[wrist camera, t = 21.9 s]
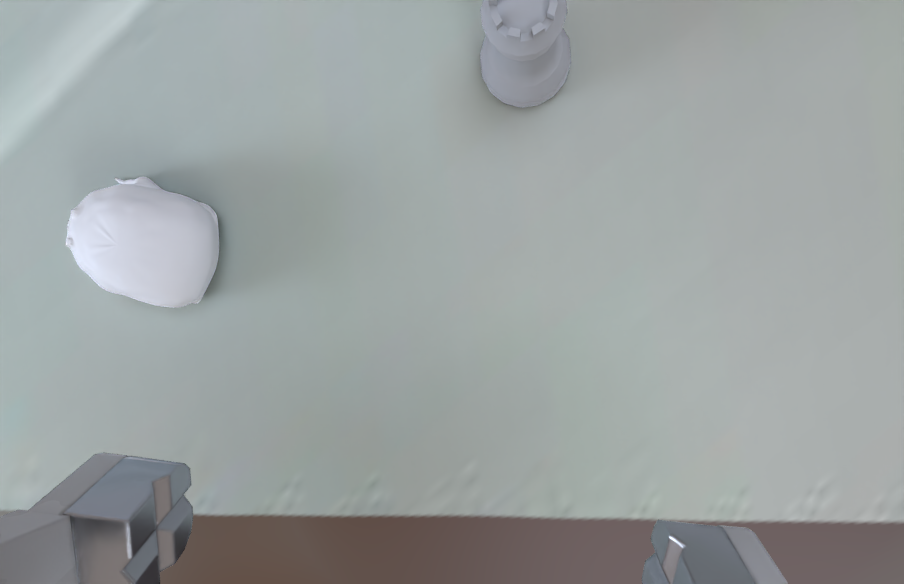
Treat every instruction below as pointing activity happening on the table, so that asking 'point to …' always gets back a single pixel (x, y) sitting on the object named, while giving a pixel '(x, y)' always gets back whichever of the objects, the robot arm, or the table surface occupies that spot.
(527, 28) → the rook chess piece
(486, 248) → the table surface
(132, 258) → the white frog figurine
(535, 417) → the table surface
